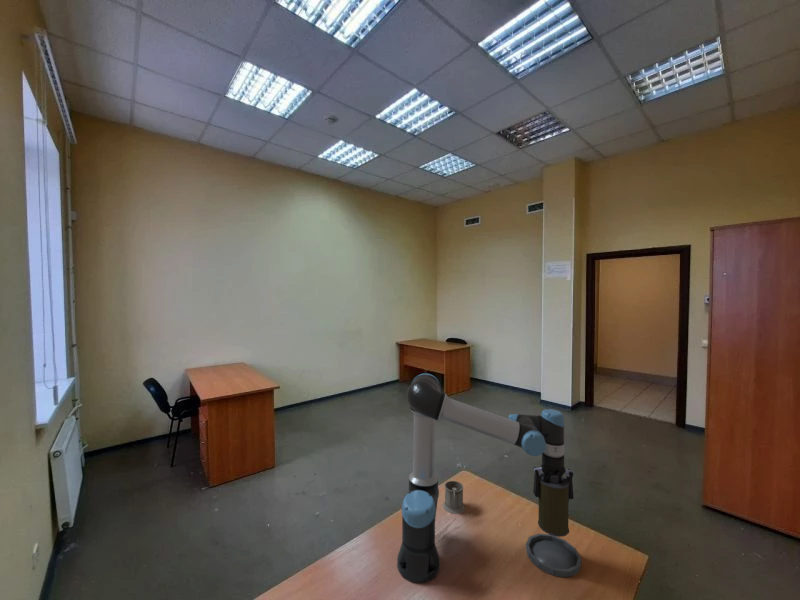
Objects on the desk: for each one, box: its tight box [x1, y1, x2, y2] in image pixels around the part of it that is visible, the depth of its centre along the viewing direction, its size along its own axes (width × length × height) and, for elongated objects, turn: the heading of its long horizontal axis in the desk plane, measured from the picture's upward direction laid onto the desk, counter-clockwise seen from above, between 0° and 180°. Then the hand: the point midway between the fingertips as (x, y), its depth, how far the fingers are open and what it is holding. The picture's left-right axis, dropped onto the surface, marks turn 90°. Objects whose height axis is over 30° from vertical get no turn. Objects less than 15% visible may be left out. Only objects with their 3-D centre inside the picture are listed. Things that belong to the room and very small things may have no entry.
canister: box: [537, 472, 570, 538], centre depth 122 cm, size 11×10×20 cm
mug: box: [442, 480, 466, 515], centre depth 149 cm, size 14×10×12 cm
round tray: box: [525, 533, 582, 578], centre depth 122 cm, size 18×18×2 cm
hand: (553, 515), depth 122 cm, fingers open, 6 cm apart
